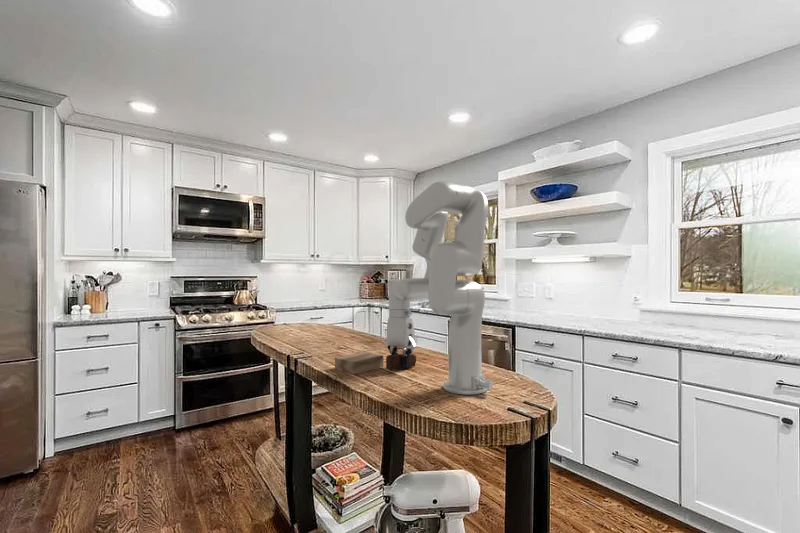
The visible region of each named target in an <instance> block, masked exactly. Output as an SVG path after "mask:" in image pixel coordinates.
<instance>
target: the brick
mask: <svg viewBox="0 0 800 533" xmlns="http://www.w3.org/2000/svg"><path fill="white" fill-rule="evenodd" d="M402 356H404V355H403V353H398V354H394V355H391V354H388V355H386V357H385V368H386V369H387V370H390V371H397V370H403V369H408V368H413V367H415V366H416V364H417V356H416V355H415V354H414V353H411V355H409V356H410V366H409V367H406V368H403V367H402Z"/></svg>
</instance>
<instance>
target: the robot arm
mask: <svg viewBox="0 0 800 533" xmlns="http://www.w3.org/2000/svg"><path fill="white" fill-rule="evenodd" d="M449 213H454V214H460V215H461V216H460V218H459V219H458V221H457V223H456V226H455V228H454V229H455V230H454V238H453V239H454V240H453V241H446V242H445V241H444V242H442V240H443V236H444V233H445V231H446V228H447V224H448V221H449ZM488 213H489V202H488V199H487V196H486V195H485V194H484V193H483V192H482V191H481V190H480V189H478V188H476V187H474V186H470V185H466V184H460V183H455V182H448V181H442V180H440V181H435V182H433V183H431V184H430V185H429V186H428V187H426V188H425V189H424V190H423V191H422V192H421V193H420V194H418V196H416V197H415V198H414V199H413V200H412V202H410V203H409V205H408V206H407V209H406V212H405V218H404V219H405V223H406V224H407V226H408V227H409V228H411V229H416V234H415V235H414V236H415V237H414V240H413V244H412V245H411V246H412V251H413V252H414V254H416V255H418V256H419V257H421V258H423V259H424V260H425V262H426V270H425V274H424V276H423V277H414V278H412V277H411V278H398V279H396V278H395V279H391V280H389V281H388V319H387V324H386V340H385V341H384V345H385V346H386V348H387V349H388V351H389V355H394V354H399V352H398V349H399V348H401V350H402V354H403V355H404V356H402V367H403V368H404V369H407V368H406V367H409V366H410V356H409V355H411V354H413V352H414V351H415V350H416V349H417V348H418V347H417V345H416V335H415V326H414V322H413V321H414V320H413V318H412V317H411V316H412V314H413V312H412V311H411V301H415V302H416V301H423V300H424V301H426V300H427V301H428V304H429V307H430V309H431V311H433V312H434V313H435V314H437V315H440V316H441V315H443V316H445V315H446V316H447V315H449V316H450V315H451V318H450V320H449V324H448V380H446V381H445V382H444V383H443V385H442V386H443V387H442V388H443V389H444V390H445V391H447V392H448V393H452V394H457V395H464V396H465V395H466V396H467V395H468V396H469V395H479V394H480V395H481V394H484V393H485V392H487V390H492V389H493V384H494V381H493V380H489V379H486V374H485V373H482V372H483V371H482V368H483V367H482V364H483V363H482V332H483V331H482V326H483V325H482V324H483V322H482V321H483V314H484V307H485V302H486V301H485V300H486V298H485V296H486V295H485V290H484V288H483V287H482V285H481V284H479V283H478V282H476V281H473V280H468V279H464V280H463V279H461V280H460V279H459V280H458V279H457V277H469V276H470V277H471V276H475V275H476V274H478V273H480V271H481V269H482V266H483V260H484V259H483V258H484V246H485V235H486V234H485V233H486V225H487V220H488V215H489V214H488ZM409 368H410V367H409Z"/></svg>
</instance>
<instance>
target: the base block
mask: <svg viewBox="0 0 800 533" xmlns="http://www.w3.org/2000/svg"><path fill="white" fill-rule="evenodd" d="M383 367H384V355H383V354H377V353H373V352H372V353H371V352H368V351H362V352H358V353H353V354H348V355H343V356H337V357H334V370H336V371H340V372H345V373H347V374H351V375H355V374H359V373H364V372H367V371H368V372H369V371H372V370H376V369H380V368H383Z"/></svg>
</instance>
